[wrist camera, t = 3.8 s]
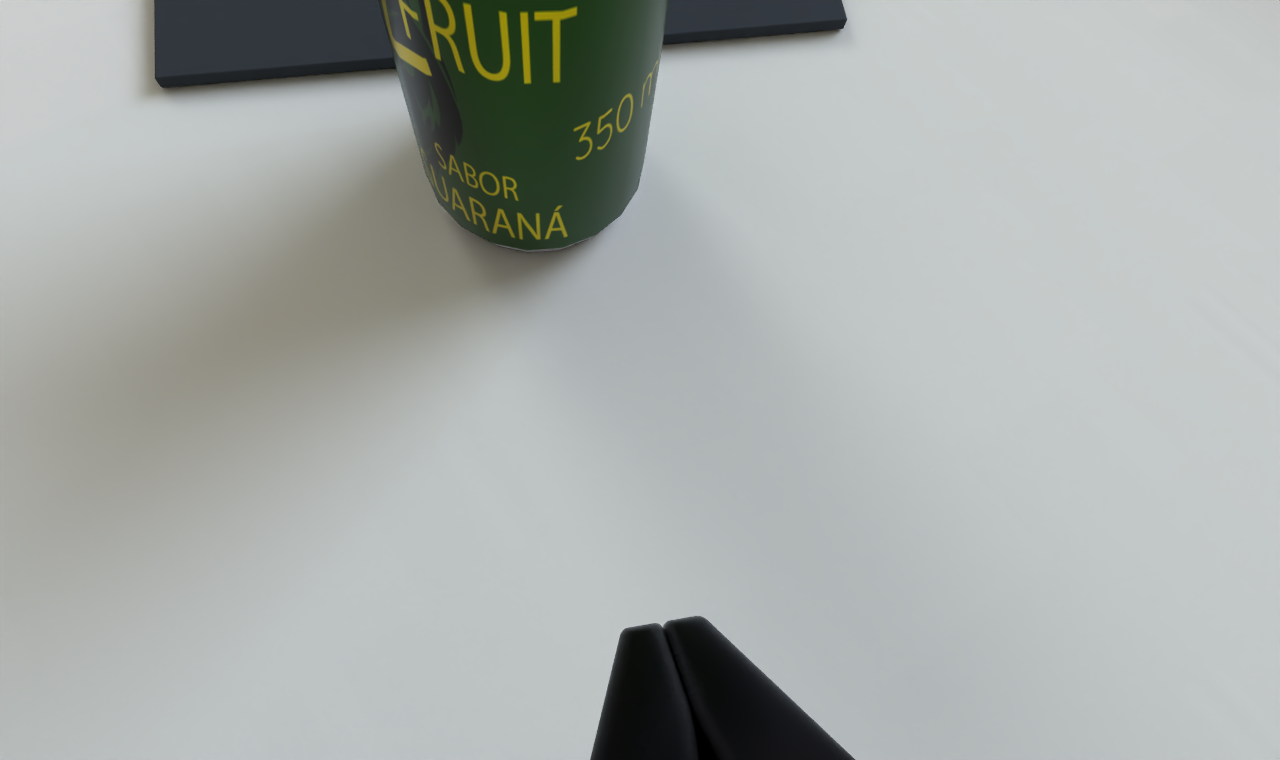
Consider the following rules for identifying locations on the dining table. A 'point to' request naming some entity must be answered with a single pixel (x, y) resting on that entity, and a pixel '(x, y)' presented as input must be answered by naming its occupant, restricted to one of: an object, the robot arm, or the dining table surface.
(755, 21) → the mat
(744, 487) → the dining table surface
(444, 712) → the dining table surface
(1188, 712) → the dining table surface
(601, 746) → the robot arm
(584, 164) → the guarana soda can
